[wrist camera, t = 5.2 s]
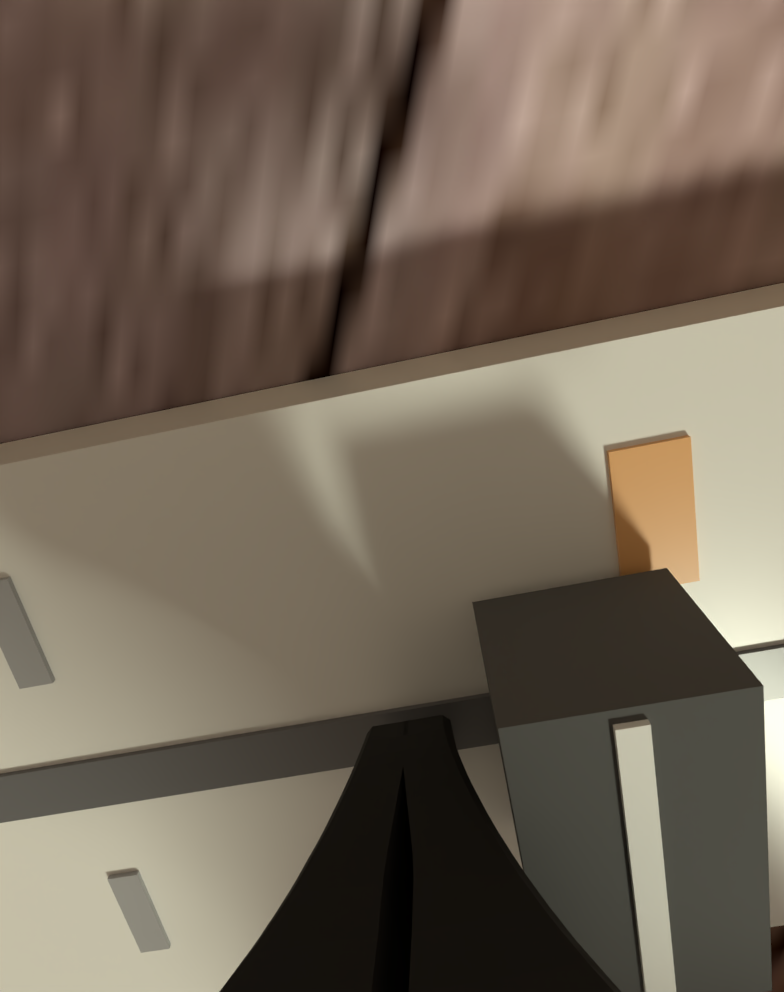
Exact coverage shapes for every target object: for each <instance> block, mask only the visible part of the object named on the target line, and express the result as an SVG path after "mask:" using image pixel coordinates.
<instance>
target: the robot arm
mask: <svg viewBox="0 0 784 992" xmlns="http://www.w3.org/2000/svg"><path fill="white" fill-rule="evenodd" d="M219 992H621V991H620V990H619V989H618V988H617V986H616V985H615V984H614V983H613V982H612V981H611V980H610V978H609V977H608V976H607V975H606V974H605V973H604V972H603V970H602V969H601V968H600V967H599V966H598V965H597V964H596V962H595V961H594V960H593V959H592V958H591V957H590V956H589V954H588V953H587V952H586V951H585V950H584V949H583V948H582V946H581V945H580V944H579V943H578V942H577V941H576V940H575V938H574V937H573V936H572V935H571V933H570V932H569V931H568V930H567V928H566V927H565V926H564V925H563V923H562V922H561V921H560V919H559V918H558V917H557V916H556V914H555V913H554V912H553V911H552V909H551V908H550V907H549V905H548V904H547V903H546V901H545V900H544V899H543V897H542V896H541V895H540V893H539V892H538V890H537V889H536V888H535V886H534V885H533V884H532V882H531V881H530V879H529V878H528V877H527V875H526V874H525V872H524V871H523V869H522V868H521V866H520V865H519V863H518V862H517V860H516V859H515V857H514V856H513V854H512V853H511V851H510V850H509V848H508V846H507V845H506V843H505V842H504V840H503V838H502V837H501V835H500V834H499V832H498V830H497V829H496V827H495V825H494V824H493V822H492V820H491V818H490V817H489V815H488V813H487V811H486V809H485V808H484V806H483V804H482V802H481V800H480V798H479V796H478V794H477V793H476V791H475V789H474V787H473V785H472V783H471V781H470V779H469V777H468V774H467V772H466V770H465V768H464V765H463V763H462V760H461V758H460V756H459V753H458V750H457V747H456V743H455V739H454V734H453V730H452V725H451V720H450V719H448V718H447V717H445V716H443V715H438V716H432V717H426V718H420V719H414V720H408V721H402V722H396V723H390V724H384V725H378V726H372V728H371V729H370V730H369V731H368V733H367V735H366V737H365V740H364V743H363V745H362V748H361V751H360V753H359V756H358V758H357V760H356V763H355V765H354V768H353V770H352V772H351V774H350V777H349V779H348V781H347V783H346V786H345V788H344V790H343V792H342V794H341V796H340V798H339V800H338V803H337V805H336V807H335V809H334V811H333V813H332V815H331V817H330V819H329V821H328V823H327V825H326V827H325V829H324V831H323V833H322V835H321V837H320V838H319V840H318V842H317V844H316V846H315V847H314V849H313V851H312V853H311V855H310V856H309V858H308V860H307V862H306V863H305V865H304V867H303V869H302V871H301V872H300V874H299V876H298V878H297V879H296V881H295V883H294V884H293V886H292V888H291V889H290V891H289V893H288V894H287V896H286V897H285V899H284V901H283V902H282V904H281V905H280V907H279V909H278V910H277V912H276V913H275V915H274V916H273V918H272V919H271V921H270V922H269V924H268V925H267V927H266V928H265V930H264V931H263V933H262V934H261V936H260V937H259V938H258V940H257V941H256V943H255V944H254V946H253V947H252V949H251V950H250V951H249V953H248V954H247V955H246V957H245V958H244V959H243V961H242V962H241V963H240V965H239V966H238V967H237V969H236V970H235V971H234V973H233V974H232V975H231V977H230V978H229V979H228V981H227V982H226V984H225V985H224V986H223V988H222V989H221V990H220V991H219Z"/></svg>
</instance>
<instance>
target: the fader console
mask: <svg viewBox="0 0 784 992" xmlns="http://www.w3.org/2000/svg"><path fill="white" fill-rule="evenodd" d="M663 568H667V569H668V570H669V571H670V572H671V574H672V575H673V576H674V577H675V579H676V580H677V581H678V582H679V583H680V585H681V586H682V587H683V588H684V589H685V591H686V592H687V593H688V594H689V596H690V597H691V598H692V599H693V600H694V602H695V603H696V604H697V605H698V607H699V608H700V609H701V610H702V611H703V613H704V614H705V615H706V616H707V618H708V619H709V620H710V621H711V622H712V624H713V625H714V626H715V627H716V628H717V630H718V631H719V632H720V633H721V635H722V636H723V637H724V638H725V639H726V641H727V642H728V643H729V644H730V646H731V647H732V648H733V649H734V650H735V652H736V653H737V654H738V655H739V657H740V658H741V659H742V660H743V661H744V663H745V664H746V665H747V666H748V668H749V669H750V670H751V671H752V672H753V674H754V675H755V676H756V677H757V678H758V680H759V681H760V682H761V683H762V685H763V686H764V721H765V756H766V791H767V827H768V862H769V897H770V927H775V926H783V925H784V283H780V284H775V285H770V286H765V287H760V288H756V289H751V290H746V291H741V292H736V293H731V294H726V295H722V296H717V297H712V298H707V299H702V300H697V301H692V302H687V303H683V304H678V305H673V306H668V307H663V308H658V309H653V310H649V311H644V312H639V313H634V314H629V315H624V316H619V317H615V318H610V319H605V320H600V321H595V322H590V323H585V324H581V325H576V326H571V327H566V328H561V329H556V330H551V331H546V332H542V333H537V334H532V335H527V336H522V337H517V338H512V339H508V340H503V341H498V342H493V343H488V344H483V345H478V346H474V347H469V348H464V349H459V350H454V351H449V352H444V353H440V354H435V355H430V356H425V357H420V358H415V359H410V360H406V361H401V362H396V363H391V364H386V365H381V366H376V367H371V368H367V369H362V370H357V371H352V372H347V373H342V374H337V375H333V376H328V377H323V378H318V379H313V380H308V381H303V382H299V383H294V384H289V385H284V386H279V387H274V388H269V389H265V390H260V391H255V392H250V393H245V394H240V395H235V396H230V397H226V398H221V399H216V400H211V401H206V402H201V403H196V404H192V405H187V406H182V407H177V408H172V409H167V410H162V411H158V412H153V413H148V414H143V415H138V416H133V417H128V418H124V419H119V420H114V421H109V422H104V423H99V424H94V425H89V426H85V427H80V428H75V429H70V430H65V431H60V432H55V433H51V434H46V435H41V436H36V437H31V438H26V439H21V440H17V441H12V442H7V443H2V444H0V992H219V991H220V990H221V989H222V988H223V986H224V985H225V984H226V982H227V981H228V979H229V978H230V977H231V975H232V974H233V973H234V971H235V970H236V969H237V967H238V966H239V965H240V963H241V962H242V961H243V959H244V958H245V957H246V955H247V954H248V953H249V951H250V950H251V949H252V947H253V946H254V944H255V943H256V941H257V940H258V938H259V937H260V936H261V934H262V933H263V931H264V930H265V928H266V927H267V925H268V924H269V922H270V921H271V919H272V918H273V916H274V915H275V913H276V912H277V910H278V909H279V907H280V905H281V904H282V902H283V901H284V899H285V897H286V896H287V894H288V893H289V891H290V889H291V888H292V886H293V884H294V883H295V881H296V879H297V878H298V876H299V874H300V872H301V871H302V869H303V867H304V865H305V863H306V862H307V860H308V858H309V856H310V855H311V853H312V851H313V849H314V847H315V846H316V844H317V842H318V840H319V838H320V837H321V835H322V833H323V831H324V829H325V827H326V825H327V823H328V821H329V819H330V817H331V815H332V813H333V811H334V809H335V807H336V805H337V803H338V800H339V798H340V796H341V794H342V792H343V790H344V788H345V786H346V783H347V781H348V779H349V777H350V774H351V772H352V770H353V768H354V765H355V763H356V760H357V758H358V756H359V753H360V751H361V748H362V745H363V743H364V740H365V737H366V735H367V733H368V731H369V730H370V729H371V728H372V726H378V725H384V724H390V723H396V722H402V721H408V720H414V719H420V718H426V717H432V716H438V715H443V716H445V717H447V718H448V719H450V720H451V725H452V730H453V734H454V739H455V743H456V747H457V750H458V753H459V756H460V758H461V760H462V763H463V765H464V768H465V770H466V772H467V774H468V777H469V779H470V781H471V783H472V785H473V787H474V789H475V791H476V793H477V794H478V796H479V798H480V800H481V802H482V804H483V806H484V808H485V809H486V811H487V813H488V815H489V817H490V818H491V820H492V822H493V824H494V825H495V827H496V829H497V830H498V832H499V834H500V835H501V837H502V838H503V840H504V842H505V843H506V845H507V846H508V848H509V850H510V851H511V853H512V854H513V856H514V857H515V859H516V860H517V862H518V863H519V865H520V866H521V868H522V863H521V858H520V853H519V848H518V843H517V838H516V832H515V827H514V822H513V816H512V811H511V806H510V800H509V795H508V790H507V784H506V779H505V774H504V769H503V763H502V758H501V753H500V747H499V742H498V737H497V731H496V726H495V721H494V715H493V710H492V705H491V699H490V694H489V689H488V683H487V678H486V673H485V668H484V662H483V657H482V652H481V646H480V641H479V636H478V630H477V625H476V620H475V614H474V609H473V604H472V602H476V601H482V600H487V599H493V598H499V597H504V596H510V595H516V594H521V593H527V592H533V591H538V590H544V589H550V588H555V587H561V586H567V585H572V584H578V583H584V582H589V581H595V580H601V579H606V578H612V577H618V576H623V575H629V574H635V573H640V572H646V571H652V570H657V569H663ZM522 869H523V868H522Z"/></svg>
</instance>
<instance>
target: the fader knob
mask: <svg viewBox="0 0 784 992" xmlns="http://www.w3.org/2000/svg"><path fill="white" fill-rule="evenodd" d="M472 604H473V609H474V614H475V620H476V625H477V630H478V636H479V641H480V646H481V652H482V657H483V662H484V668H485V673H486V678H487V683H488V689H489V694H490V699H491V705H492V710H493V715H494V721H495V726H496V731H497V737H498V742H499V747H500V753H501V758H502V763H503V769H504V774H505V779H506V784H507V790H508V795H509V800H510V806H511V811H512V816H513V822H514V827H515V832H516V838H517V843H518V848H519V853H520V858H521V863H522V868H523V871H524V872H525V874H526V875H527V877H528V878H529V879H530V881H531V882H532V884H533V885H534V886H535V888H536V889H537V890H538V892H539V893H540V895H541V896H542V897H543V899H544V900H545V901H546V903H547V904H548V905H549V907H550V908H551V909H552V911H553V912H554V913H555V914H556V916H557V917H558V918H559V919H560V921H561V922H562V923H563V925H564V926H565V927H566V928H567V930H568V931H569V932H570V933H571V935H572V936H573V937H574V938H575V940H576V941H577V942H578V943H579V944H580V945H581V946H582V948H583V949H584V950H585V951H586V952H587V953H588V954H589V956H590V957H591V958H592V959H593V960H594V961H595V962H596V964H597V965H598V966H599V967H600V968H601V969H602V970H603V972H604V973H605V974H606V975H607V976H608V977H609V978H610V980H611V981H612V982H613V983H614V984H615V985H616V986H617V988H618V989H619V990H620V991H621V992H767V991H772V967H771V932H770V897H769V862H768V827H767V791H766V756H765V721H764V686H763V685H762V683H761V682H760V681H759V680H758V678H757V677H756V676H755V675H754V674H753V672H752V671H751V670H750V669H749V668H748V666H747V665H746V664H745V663H744V661H743V660H742V659H741V658H740V657H739V655H738V654H737V653H736V652H735V650H734V649H733V648H732V647H731V646H730V644H729V643H728V642H727V641H726V639H725V638H724V637H723V636H722V635H721V633H720V632H719V631H718V630H717V628H716V627H715V626H714V625H713V624H712V622H711V621H710V620H709V619H708V618H707V616H706V615H705V614H704V613H703V611H702V610H701V609H700V608H699V607H698V605H697V604H696V603H695V602H694V600H693V599H692V598H691V597H690V596H689V594H688V593H687V592H686V591H685V589H684V588H683V587H682V586H681V585H680V583H679V582H678V581H677V580H676V579H675V577H674V576H673V575H672V574H671V572H670V571H669V570H668V569H667V568H663V569H657V570H652V571H646V572H640V573H635V574H629V575H623V576H618V577H612V578H606V579H601V580H595V581H589V582H584V583H578V584H572V585H567V586H561V587H555V588H550V589H544V590H538V591H533V592H527V593H521V594H516V595H510V596H504V597H499V598H493V599H487V600H482V601H476V602H472Z"/></svg>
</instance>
